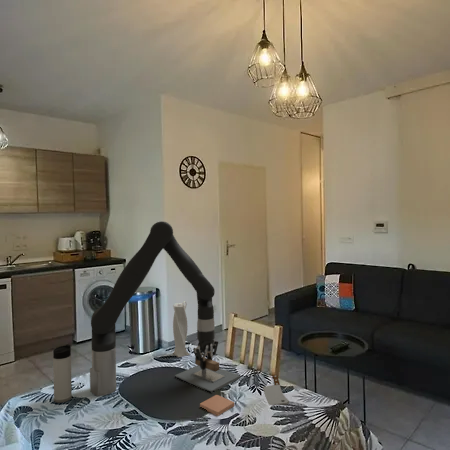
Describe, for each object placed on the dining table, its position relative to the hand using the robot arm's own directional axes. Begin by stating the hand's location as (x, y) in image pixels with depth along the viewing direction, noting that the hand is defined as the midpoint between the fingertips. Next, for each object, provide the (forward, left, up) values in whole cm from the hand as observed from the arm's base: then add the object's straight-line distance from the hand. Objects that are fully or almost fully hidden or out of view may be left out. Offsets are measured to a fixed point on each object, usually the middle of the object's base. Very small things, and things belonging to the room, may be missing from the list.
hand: (206, 367), depth 158 cm
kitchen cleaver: (+9, -28, -5) cm, 30 cm away
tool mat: (0, -1, -4) cm, 4 cm away
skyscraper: (+11, +28, -5) cm, 31 cm away
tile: (-15, -16, -4) cm, 22 cm away
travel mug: (-49, +29, -5) cm, 57 cm away
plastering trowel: (0, -2, -3) cm, 4 cm away
